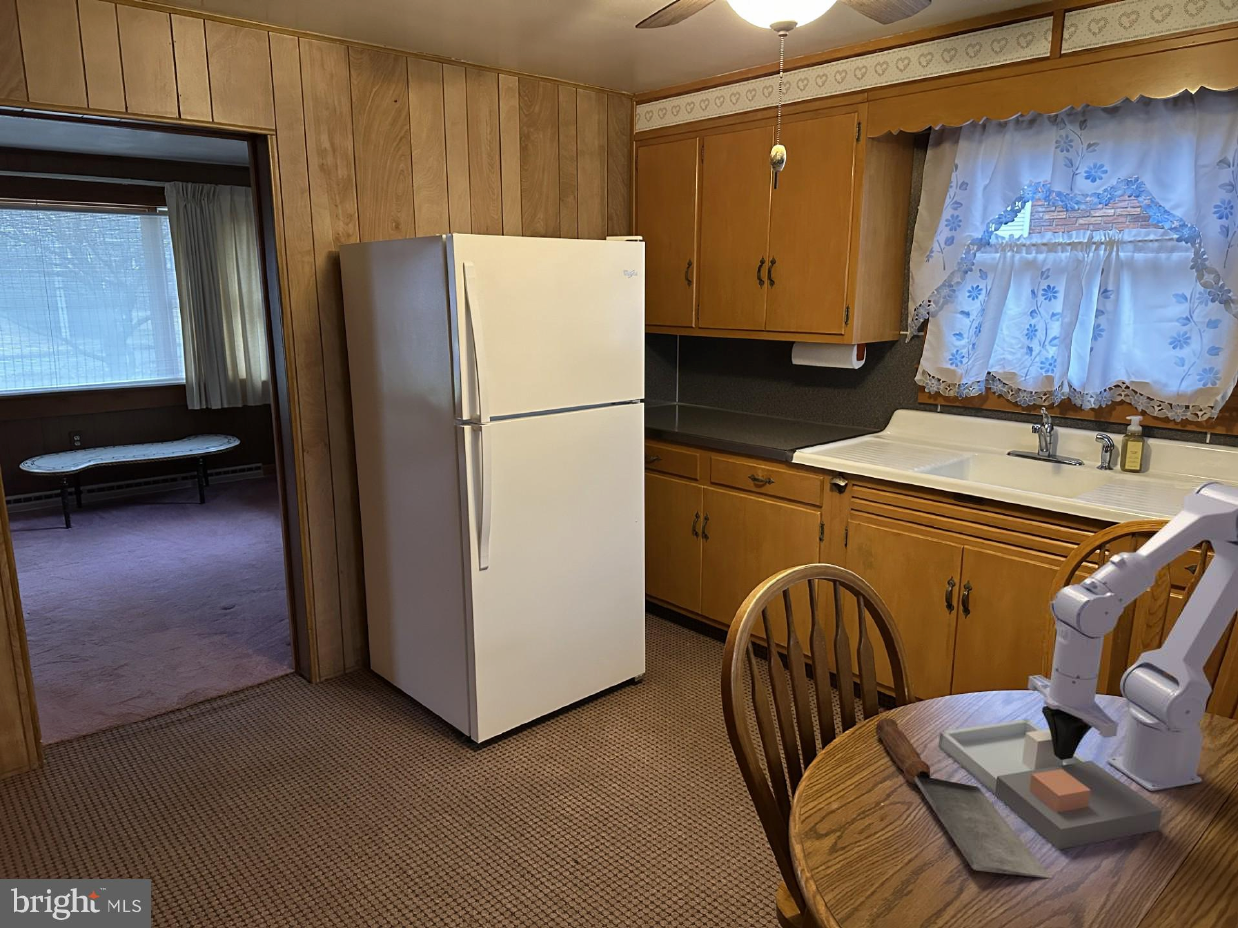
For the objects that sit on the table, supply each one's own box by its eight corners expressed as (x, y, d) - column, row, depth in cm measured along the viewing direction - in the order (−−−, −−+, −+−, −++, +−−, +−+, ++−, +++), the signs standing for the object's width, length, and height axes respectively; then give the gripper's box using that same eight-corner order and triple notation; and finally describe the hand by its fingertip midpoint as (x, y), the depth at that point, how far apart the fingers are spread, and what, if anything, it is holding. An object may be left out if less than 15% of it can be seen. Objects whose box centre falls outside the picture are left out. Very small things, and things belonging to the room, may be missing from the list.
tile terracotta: (1059, 784, 116) (1062, 768, 116) (1088, 806, 112) (1090, 789, 111) (1029, 790, 115) (1031, 773, 115) (1056, 812, 110) (1059, 795, 110)
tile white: (1062, 767, 125) (1050, 758, 127) (1066, 736, 124) (1054, 728, 126) (1034, 771, 124) (1022, 762, 126) (1038, 741, 123) (1025, 732, 125)
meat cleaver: (1060, 879, 103) (1064, 850, 102) (970, 883, 102) (973, 853, 101) (938, 735, 136) (941, 712, 135) (870, 737, 135) (872, 714, 134)
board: (1088, 778, 123) (1090, 760, 122) (1158, 829, 112) (1162, 809, 111) (994, 794, 119) (997, 775, 118) (1058, 849, 108) (1061, 828, 107)
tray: (1024, 732, 135) (1026, 718, 135) (1088, 778, 123) (1090, 763, 123) (938, 746, 131) (939, 731, 131) (994, 794, 119) (996, 779, 119)
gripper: (1015, 651, 124) (1005, 734, 127) (1092, 697, 111) (1079, 789, 114) (1055, 646, 126) (1044, 728, 129) (1135, 691, 113) (1121, 781, 115)
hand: (1063, 756), depth 122 cm, fingers closed
